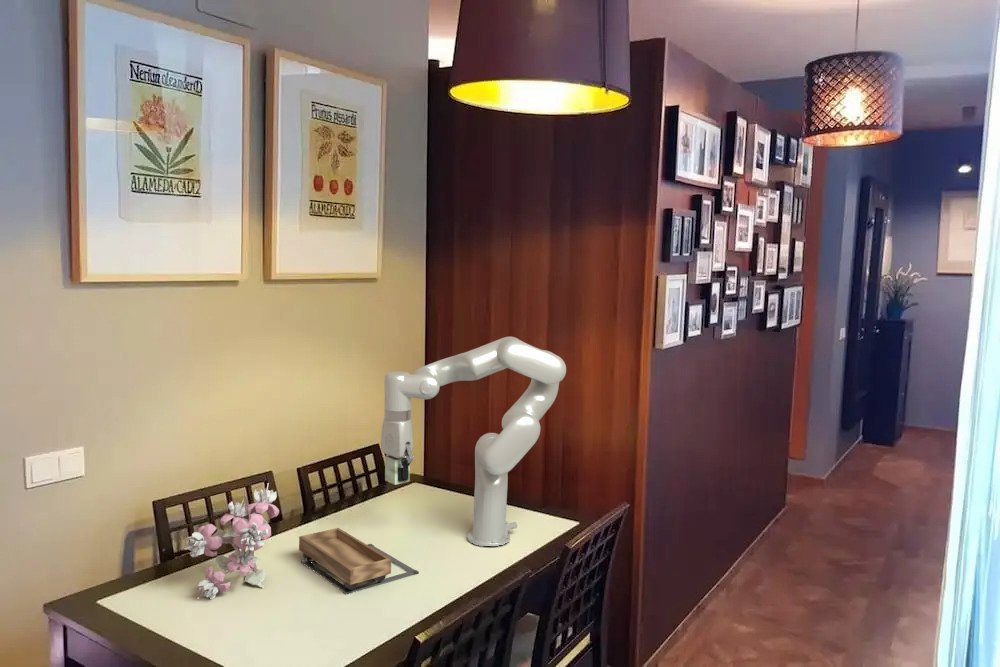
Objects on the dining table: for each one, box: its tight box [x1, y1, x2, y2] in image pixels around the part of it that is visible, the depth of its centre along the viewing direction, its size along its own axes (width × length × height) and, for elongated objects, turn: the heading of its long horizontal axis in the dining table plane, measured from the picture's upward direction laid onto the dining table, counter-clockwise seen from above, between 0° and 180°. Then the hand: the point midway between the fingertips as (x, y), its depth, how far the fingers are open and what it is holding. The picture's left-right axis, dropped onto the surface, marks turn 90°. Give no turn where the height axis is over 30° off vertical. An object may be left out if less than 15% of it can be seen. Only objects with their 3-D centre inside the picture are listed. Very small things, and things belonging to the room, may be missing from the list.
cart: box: [298, 527, 392, 590], centre depth 200 cm, size 12×27×6 cm, turn 41°
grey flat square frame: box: [300, 543, 420, 595], centre depth 203 cm, size 22×24×1 cm
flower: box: [183, 482, 280, 600], centre depth 188 cm, size 20×22×25 cm
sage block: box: [384, 454, 411, 485], centre depth 220 cm, size 5×5×7 cm
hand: (397, 477), depth 220 cm, fingers closed on sage block, 5 cm apart
